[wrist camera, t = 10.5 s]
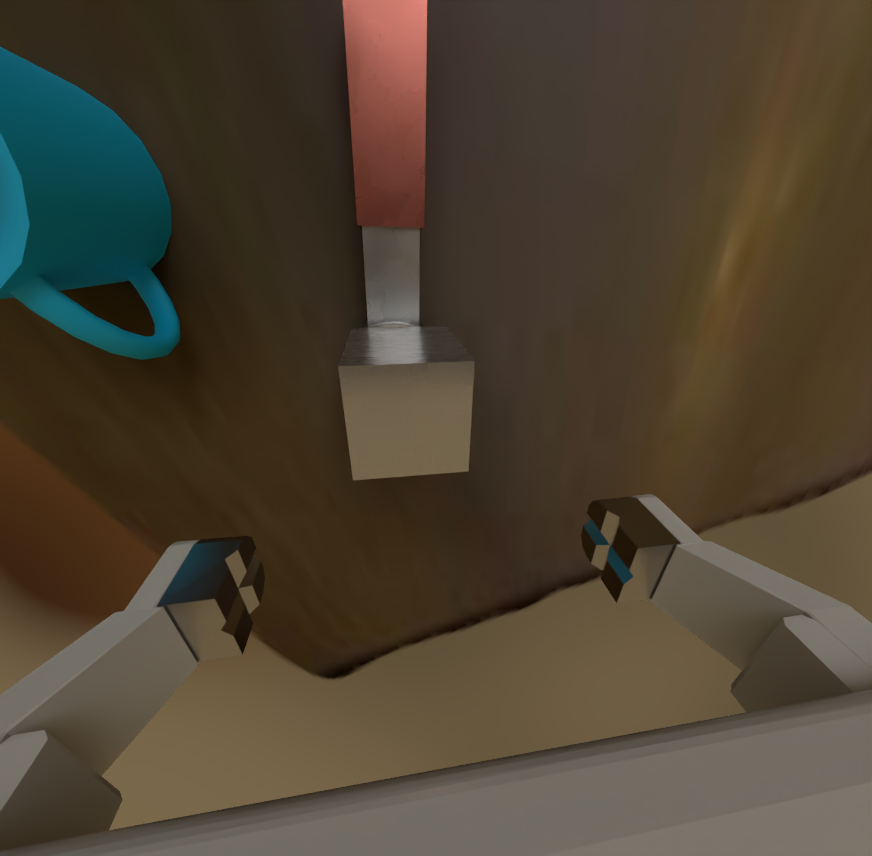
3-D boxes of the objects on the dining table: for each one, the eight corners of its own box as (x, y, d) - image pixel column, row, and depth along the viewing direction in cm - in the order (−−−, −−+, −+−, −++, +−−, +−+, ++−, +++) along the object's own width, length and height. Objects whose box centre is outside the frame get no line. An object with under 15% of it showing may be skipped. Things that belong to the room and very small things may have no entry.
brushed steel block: (351, 328, 18) (338, 366, 12) (446, 325, 19) (474, 360, 13) (360, 414, 20) (353, 480, 15) (444, 410, 21) (468, 471, 15)
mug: (-86, 141, 15) (-509, 47, 8) (55, 26, 14) (-283, -198, 7) (150, 370, 21) (27, 437, 14) (262, 299, 20) (193, 330, 13)
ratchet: (313, 9, 15) (269, -137, 9) (452, 26, 16) (491, -99, 10) (350, 406, 23) (339, 459, 18) (438, 404, 24) (455, 453, 18)
